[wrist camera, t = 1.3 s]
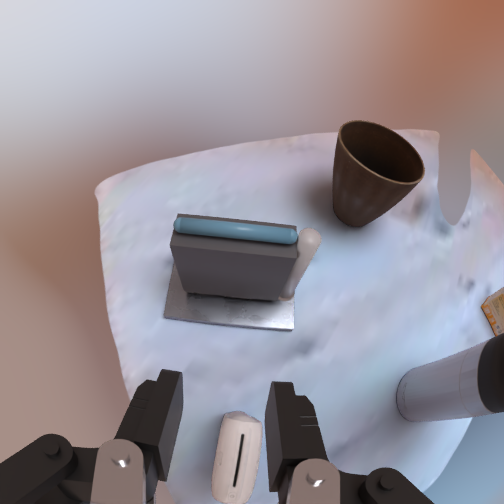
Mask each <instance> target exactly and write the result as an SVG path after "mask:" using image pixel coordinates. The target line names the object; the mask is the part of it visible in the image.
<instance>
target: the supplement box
mask: <svg viewBox="0 0 504 504" xmlns="http://www.w3.org/2000/svg"><path fill="white" fill-rule="evenodd" d="M481 307H482V309H483V311H484V312H485V314H486V316H487V318H488V320H489V322H490V324H491V326H492V329H493V331H494V333H495V336H498V335H500V334H502V333H504V287H503V288H501V289H500V290H498V291H497V292H495V293H494V294H492V295H491V296H489V297H488V298H487V300H486V301H485V302H484V304H483V305H482V306H481Z"/></svg>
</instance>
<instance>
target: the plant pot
mask: <svg viewBox="0 0 504 504" xmlns="http://www.w3.org/2000/svg"><path fill="white" fill-rule="evenodd" d="M424 174H425V168H424V164H423V161H422V159H421V157H420V155H419V154H418V152H417V151H416V150H415V148H414V147H413V146H412V145H411V144H410V143H409V142H408V141H407V140H405V139H404V138H403V137H402V136H400V135H399V134H397V133H396V132H394V131H392V130H390V129H389V128H386V127H384V126H382V125H379V124H376V123H373V122H369V121H362V120H355V121H349V122H347V123H345V124H343V125H342V126H341V127H340V129H339V133H338V138H337V144H336V150H335V158H334V167H333V208H334V212H335V214H336V215H337V217H338V218H339V219H340V220H341V221H342V222H344V223H345V224H347V225H350V226H353V227H360V226H363V225H365V224H367V223H369V222H371V221H373V220H375V219H376V218H378V217H380V216H381V215H383V214H384V213H386V212H387V211H388V210H390V209H391V208H392V207H393V206H395V205H396V204H397V203H398V202H400V201H401V200H402V199H403V198H404V197H405V196H406V195H407V194H408V193H409V192H410V191H411V190H412V189H413V188H414V187H415V186H416V185H417V184H418V183H419V182H420V181H421V180H422V179H423V177H424Z"/></svg>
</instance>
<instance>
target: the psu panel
mask: <svg viewBox="0 0 504 504" xmlns="http://www.w3.org/2000/svg"><path fill="white" fill-rule="evenodd" d="M294 293H295V290H294V292H293V294H292V295H291V296H290V297H289V298H282V297H280V296H279V298H278V300H277V301H273V300H262V299H251V298H241V297H231V296H222V295H213V294H204V293H196V292H187V291H184V290H183V287H182V284H181V281H180V278H179V274H178V271H177V268H176V265H175V261H174V266H173V270H172V275H171V280H170V285H169V290H168V295H167V300H166V305H165V311H164V317H165V318H169V319H175V320H183V321H190V322H198V323H206V324H215V325H224V326H233V327H243V328H254V329H267V330H280V331H292V330H293V329H294Z"/></svg>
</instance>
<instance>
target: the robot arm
mask: <svg viewBox="0 0 504 504" xmlns="http://www.w3.org/2000/svg"><path fill="white" fill-rule="evenodd" d="M397 405H398V408H399V411H400V412H401V414H402V415H403V416H404V418H406V419H407V420H409V421H412V422H423V421H440V420H452V419H461V418H469V417H476V416H482V415H488V414H494V413H499V412H504V333H502V334H500V335H498V336H495V337H493V338H491V339H489V340H487V341H485V342H482V343H480V344H478V345H476V346H474V347H471V348H469V349H466V350H464V351H461V352H459V353H456V354H454V355H451V356H449V357H446V358H443V359H440V360H438V361H435V362H432V363H429V364H426V365H423V366H420V367H417V368H414V369H412V370H410V371H409V372H407V373H406V374H405V375H404V377H403V378H402V380H401V382H400V384H399V387H398V391H397ZM182 411H183V377H182V372H178V371H171V370H166V369H162V370H161V372H160V374H159V377H158V379H157V381H152V380H146V381H145V382H143V383H142V384H141V385H140V386H138V387H137V389H136V392H135V394H134V396H133V399H132V400H131V402H130V405H129V407H128V409H127V411H126V413H125V416H124V418H123V420H122V422H121V425H120V427H119V429H118V431H117V434H116V436H115V438H114V439H113V440H110V441H107V442H105V443H104V444H102V445H101V447H99V448H81V447H72V446H71V444H70V443H69V442H68V440H67V439H65V438H64V437H62V436H60V435H56V434H46V435H43V436H41V437H40V438H38V439H37V440H35V441H34V442H32V443H31V444H29V445H28V446H26V447H25V448H23V449H22V450H20V451H19V452H17V453H16V454H14V455H13V456H11V457H9V458H8V459H6V460H5V461H4V462H2V463H0V504H156V495H155V491H156V486H157V482H158V480H160V481H165V482H166V481H167V476H168V472H169V467H170V463H171V459H172V454H173V450H174V446H175V441H176V437H177V433H178V429H179V425H180V421H181V416H182ZM265 434H266V448H267V463H268V477H269V491H270V492H278V497H279V502H278V504H434V503H433V502H432V501H431V500H430V499H428V498H427V497H426V496H425V495H424V494H423V493H422V492H421V491H420V490H419V489H417V488H416V487H415V486H414V485H413V484H412V483H411V482H410V481H409V480H408V479H407V478H406V477H405V476H403V475H402V474H401V473H400V472H399V471H397V470H395V469H392V468H379V469H376V470H374V471H372V472H371V473H370V474H369V475H368V476H367V475H357V474H349V473H345V472H342V471H340V470H338V469H337V468H336V467H335V466H334V465H333V464H332V463H330V462H329V460H328V458H327V455H326V451H325V447H324V443H323V440H322V436H321V432H320V428H319V426H318V421H317V418H316V413H315V409H314V406H313V404H312V403H311V402H310V400H309V399H308V398H307V397H306V396H297V395H295V391H294V386H293V383H292V382H274V381H272V383H271V387H270V391H269V396H268V401H267V405H266V411H265Z"/></svg>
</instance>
